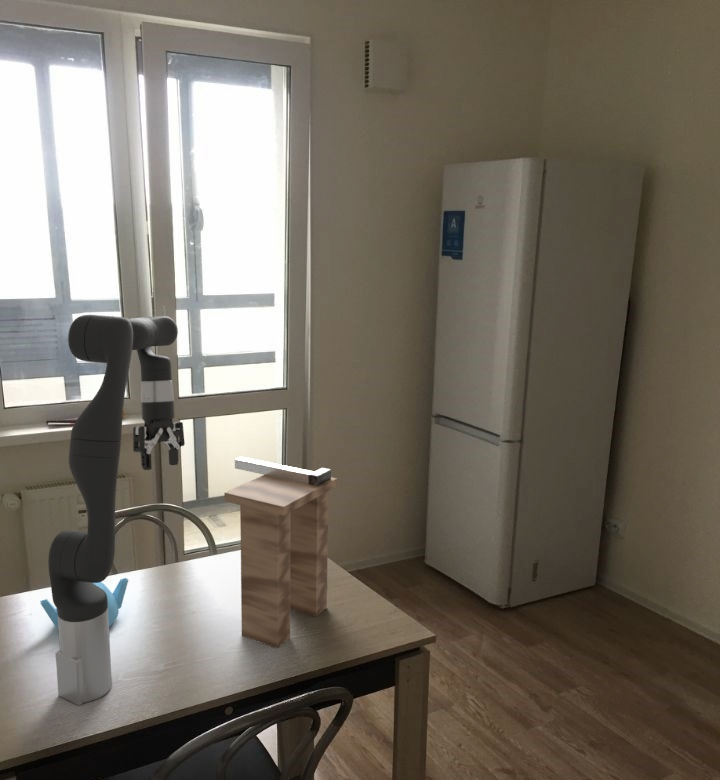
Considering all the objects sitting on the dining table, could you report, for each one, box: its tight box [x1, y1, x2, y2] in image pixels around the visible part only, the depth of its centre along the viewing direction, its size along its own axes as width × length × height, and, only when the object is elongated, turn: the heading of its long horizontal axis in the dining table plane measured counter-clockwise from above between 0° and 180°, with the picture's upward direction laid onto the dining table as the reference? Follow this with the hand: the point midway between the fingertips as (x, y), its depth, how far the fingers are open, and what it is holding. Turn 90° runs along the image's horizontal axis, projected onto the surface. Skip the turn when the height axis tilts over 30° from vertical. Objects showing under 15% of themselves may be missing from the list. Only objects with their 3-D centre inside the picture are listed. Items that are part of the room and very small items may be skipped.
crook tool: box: [234, 456, 332, 486], centre depth 170 cm, size 6×24×2 cm, turn 61°
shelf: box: [224, 474, 338, 649], centre depth 166 cm, size 22×16×34 cm
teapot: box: [39, 577, 129, 629], centre depth 165 cm, size 15×15×11 cm
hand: (160, 467), depth 169 cm, fingers open, 8 cm apart
